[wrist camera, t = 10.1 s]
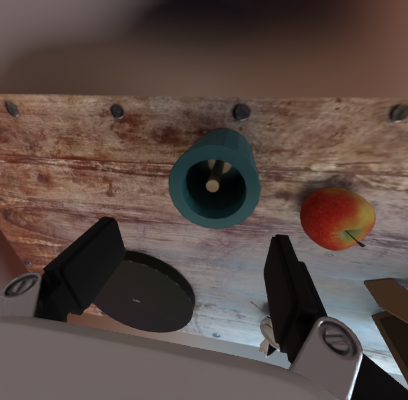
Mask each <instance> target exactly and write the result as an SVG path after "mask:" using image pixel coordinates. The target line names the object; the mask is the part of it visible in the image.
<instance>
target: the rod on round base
mask: <svg viewBox="0 0 408 400" xmlns="http://www.w3.org/2000/svg"><path fill="white" fill-rule="evenodd" d="M208 165H209V167H210V169H211V170H212V171H211V174H210V176H209V179H208V181H207V184H206V188H207V190H208V191H210V192H216V191H217V190H218V189H219V186H220V181H221V177H222V174H223V173H226V172H227V171H229V169H230V168H231V166H232V165H231V164H229V163H227V162H224V161H221V160H212V159H208Z"/></svg>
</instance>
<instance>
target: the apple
mask: <svg viewBox="0 0 408 400" xmlns="http://www.w3.org/2000/svg"><path fill="white" fill-rule="evenodd" d="M300 219H301V224H302V227H303V229H304V231H305V233H306V234H307V235H308V236H309V237H310V238H311V239H312V240H313V241H314V242H315V243H317V244H318V245H320V246H322V247H324V248H326V249H329V250H335V251H338V250H344V249H347V248H349V247H351V246H353V245H355V244H356V243H358V244H359V245H360V246H361V247H364V246H365V245H364V244H362V243H360V242H359V241H361V240H362V239H363V238H365V237H366V236H367V235H368V234H369V233H370V231H371V230H372V228H373V226H374V224H375V220H376V216H375V212H374V209H373V208H372V206H371V205H370V203H369V202H368V201H367V200H365V199H364V198H363V197H361V196H360V195H358V194H356V193H354V192H352V191H349V190H346V189H342V188H334V187H330V188H322V189H319V190H317V191H315V192H313V193H312V194H310V195H309V196H308V197H307V198H306V200H305V201H304V203H303V205H302V208H301V212H300Z"/></svg>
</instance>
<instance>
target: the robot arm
mask: <svg viewBox="0 0 408 400" xmlns="http://www.w3.org/2000/svg"><path fill="white" fill-rule="evenodd" d="M125 254H126V251H125V248H124V244H123V241H122V237H121V234H120V230H119V227H118V223H117V221H116V220H115V219H114V218H111V217H102V218H101V219H100V220H99V221H98V222H96V223H95V224H94V225H93V226H92V227H91V228H90V229H88V230H87V231H86V232H85V233H84V234H83V235H81V236H80V237H79V238H78V239H77V240H76V241H75V242H73V243H72V244H71V245H70V246H69V247H68V248H66V249H65V250H64V251H63V252H62V253H61V254H60V255H58V256H57V257H56V258H55V259H54V260H53V261H51V262H50V263H49V264H48V265H47V266H46V267H45V268H43V270H44V271H45V273H44V274H43V275H42V274H41V273H40V272H29V273H25V274H23V275H20V276H18V277H17V278H15V279H13V280H12V281H10V282H9V283H8V284H7V285H6V286H5V287H4V288H3V289H2V291H1V292H0V400H408V390H407V389H406V388H404V387H403V386H402V385H401V384H400V383H399V382H397V381H396V380H395V379H394V378H393V377H391V376H390V375H389V374H388V373H386V372H385V371H384V370H383V369H382V368H380V367H379V366H378V365H377V364H375V363H374V362H373V361H372V360H371V359H369V358H368V357H367V356H366V355H365V354H363V349H362V346H361V343H360V341H359V340H358V338H357V336H356V335H355V334H354V333H353V331H352V330H351V329H350V328H349V327H347V326H346V325H345V324H344V323H342V322H341V321H339V320H337V319H335V318H332V317H328V316H327V314H326V311H325V309H324V307H323V304H322V302H321V300H320V297H319V295H318V293H317V290H316V288H315V286H314V283H313V281H312V279H311V277H310V274H309V272H308V270H307V267H306V265H305V263H304V262H300V261H298V259H297V257H296V254H295V252H294V249H293V247H292V244H291V241H290V239H289V237H288V235H279V234H276V236H275V237H272V239H271V243H270V247H269V251H268V255H267V259H266V263H265V267H264V280H265V286H266V292H267V298H268V304H269V310H270V316H271V322H272V328H273V334H274V340H275V343H277V344H279V347H280V352H282V353H287V356H288V360H289V362H290V363H291V366H290V367H289V369H285V368H282V367H280V366H276V365H272V364H269V363H265V362H261V361H258V360H253V359H248V358H244V357H239V356H235V355H230V354H226V353H221V352H216V351H211V350H205V349H200V348H195V347H190V346H186V345H181V344H175V343H170V342H165V341H160V340H155V339H149V338H144V337H139V336H134V335H129V334H124V333H119V332H113V331H108V330H103V329H97V328H92V327H86V326H81V325H76V324H71V323H67V315H68V314H69V313H70V312H71V314H77V315H81V314H82V313H83V311H84V310H85V309H87V308H88V307H89V306H90V305H91V303H92V302H93V301H94V299H95V298H96V296H97V295H98V294H99V292H100V291H101V289H102V288H103V287H104V285H105V284H106V282H107V281H108V280H109V278H110V277H111V275H112V274H113V273H114V271H115V270H116V268H117V267H118V266H119V264H120V263H121V261H122V260H123V259H124V257H125Z"/></svg>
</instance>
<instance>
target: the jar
mask: <svg viewBox="0 0 408 400" xmlns="http://www.w3.org/2000/svg"><path fill="white" fill-rule="evenodd" d="M208 159H212V160H221V161H224V162H227V163H229V164H231V165H232V166H231V168H230V169H229V171H227V172H226V173H223V174H222V177H221V181H220V186H219V189H218V190H217V191H216V192H210V191H208V190H207V188H206V184H207V181H208V179H209V176H210V174H211V171H212V170H211V169H210V167H209V165H208ZM260 191H261V186H260V181H259V175H258V172H257V168H256V165H255V161H254V158H253V154H252V151H251V147H250V146H249V144H248V142H247V140H246V139H245V138H244V137H243V136H242V135H241V134H240V133H238V132H236V131H234V130H231V129H225V128H222V129H215V130H212V131H210V132H208V133H207V134H205V135H204V136H203V137H201V138H200V139H199V140H198V141H197V142H196V143H195V144H194V145H193V146H192V147H190V148H189V149H188V150H187V151H186V152H185V153H184V154H183V155H182V156H181V157H180V158H179V159H178V160H177V162H176V163H175V165H174V166H173V168H172V170H171V174H170V178H169V192H170V196H171V199H172V201H173V203H174V206H175V207H176V208H177V209H178V211H179V212H180V213H181V214H182V215H183V216H184V217H185V218H187V219H188V220H189V221H191V222H192V223H195V224H197V225H200V226H203V227H206V228H214V229H221V228H228V227H232V226H234V225H236V224H238V223H241V222H243V221H244V220H245V219H246V218H247V217H248V216H250V215H251V214H252V212H253V211H254V209H255V207H256V205H257V204H258V201H259V197H260Z"/></svg>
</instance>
